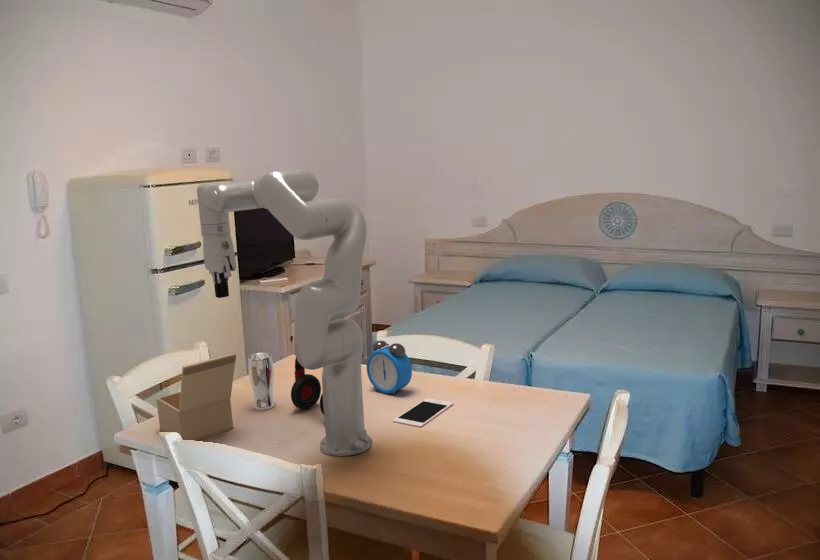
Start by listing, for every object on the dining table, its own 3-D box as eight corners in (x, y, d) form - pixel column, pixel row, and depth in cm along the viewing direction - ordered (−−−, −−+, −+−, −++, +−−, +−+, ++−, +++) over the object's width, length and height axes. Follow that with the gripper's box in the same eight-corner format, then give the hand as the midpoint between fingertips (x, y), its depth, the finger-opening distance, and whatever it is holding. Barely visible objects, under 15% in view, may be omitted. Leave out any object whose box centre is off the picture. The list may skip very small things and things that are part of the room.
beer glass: (279, 401, 201) (275, 351, 198) (272, 410, 194) (268, 359, 192) (256, 401, 202) (251, 352, 199) (248, 410, 195) (243, 359, 192)
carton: (233, 428, 183) (230, 396, 181) (182, 445, 174) (178, 411, 172) (209, 414, 193) (205, 384, 192) (160, 430, 184) (156, 398, 183)
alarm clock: (367, 390, 207) (364, 341, 204) (380, 384, 212) (377, 336, 209) (400, 398, 199) (398, 348, 196) (414, 391, 204) (411, 342, 201)
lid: (229, 396, 181) (230, 397, 181) (179, 411, 172) (180, 412, 172) (234, 352, 175) (236, 354, 174) (182, 366, 166) (183, 367, 166)
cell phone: (454, 405, 193) (454, 402, 193) (421, 429, 178) (420, 426, 178) (426, 400, 198) (426, 397, 197) (392, 423, 183) (392, 420, 182)
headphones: (287, 412, 193) (281, 342, 189) (314, 401, 200) (309, 334, 196) (329, 426, 181) (324, 353, 178) (356, 414, 189) (352, 344, 185)
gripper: (241, 229, 182) (248, 298, 186) (215, 226, 193) (222, 291, 197) (215, 233, 177) (222, 303, 181) (190, 229, 188) (197, 295, 192)
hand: (222, 296), depth 189 cm, fingers closed
